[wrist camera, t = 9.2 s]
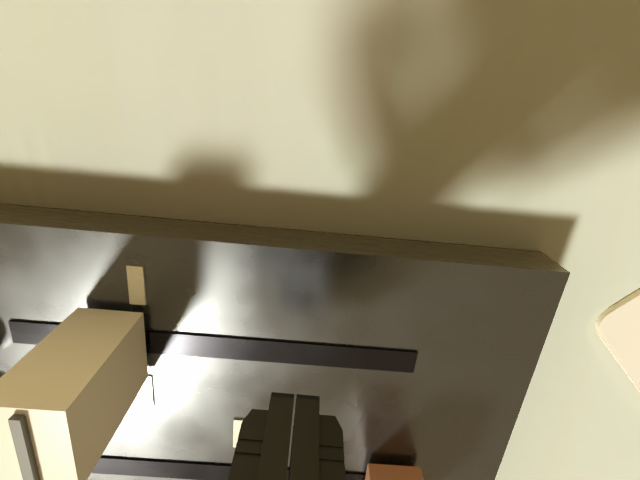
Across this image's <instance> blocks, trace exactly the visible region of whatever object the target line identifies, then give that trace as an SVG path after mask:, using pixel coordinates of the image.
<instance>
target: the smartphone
mask: <svg viewBox="0 0 640 480" xmlns="http://www.w3.org/2000/svg"><path fill="white" fill-rule="evenodd" d="M595 329H596V332H597V334H598V335H599V337H600V338H601V340H602V341H603V342H604V344H605V345H606V347H607V348H608V349H609V351H610V352H611V354H612V355H613V356H614V358H615V359H616V361H617V362H618V363H619V365H620V366H621V367H622V368H623V370H624V371H625V373H626V375H627V376H628V377H629V379H630V380H631V382H632V383H633V384H634V385H635V387H636V388H637V390H638V391H639V393H640V289H638V290H637V291H635V292H633V293H632V294H630V295H629V296H627V297H625V298H624V299H622V300H620V301H619V302H617V303H616V304H614V305H612V306H611V307H609V308H608V309H606V310H605V311H604V312H603V313H601V314H600V316H599V317H598V318H597V320H596V323H595Z"/></svg>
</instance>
